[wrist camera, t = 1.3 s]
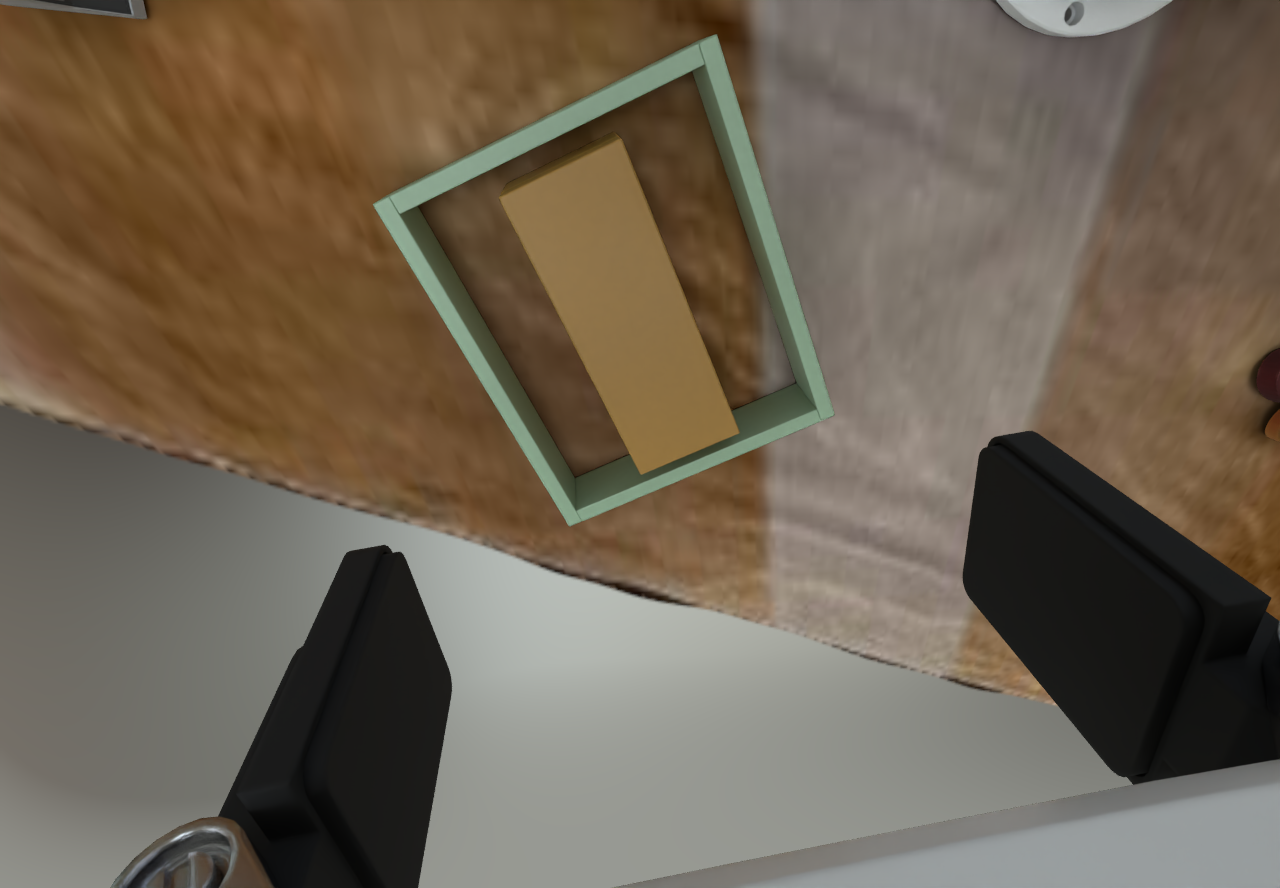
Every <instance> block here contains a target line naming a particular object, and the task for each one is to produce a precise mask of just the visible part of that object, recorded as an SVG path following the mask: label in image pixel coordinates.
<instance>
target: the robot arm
mask: <svg viewBox="0 0 1280 888" xmlns="http://www.w3.org/2000/svg"><path fill="white" fill-rule="evenodd" d="M996 1H997V2H998V4H999V5H1000V6H1001V7H1002V8H1003V10H1004V11H1005V12H1006V13H1007V14H1008V15H1010V16H1011V17H1012V18H1014V19H1015V20H1017V21H1018V22H1019V23H1021V24H1022V25H1023V26H1025V27H1027V28H1029V29H1032V30H1035V31H1037V32H1040V33H1043V34H1045V35H1050V36H1060V37H1070V38H1073V37H1082V36H1095V35H1100V34H1104V33H1108V32H1112V31H1116V30H1120V29H1123V28H1125V27H1128V26H1130V25H1132V24H1134V23H1136V22H1138V21H1141V20H1143V19H1145V18H1147V17H1149V16H1151V15H1152V14H1154V13H1155V12H1157V11H1158V10H1160V9H1161V8H1162V7H1164V6H1165V5H1167V4H1168V3H1170V2H1171V1H1173V0H996ZM963 584H964V587H965V590H966V592H967V595H968V596H969V598H970V599H971V600H972V602H973V603H974V604H975V605H976V606H977V608H978V609H979V610H980V611H981V612H982V614H983V615H984V616H985V617H986V619H987V620H988V621H989V622H990V623H991V625H992V626H993V627H994V628H995V630H996V631H997V632H998V633H999V634H1000V636H1001V637H1002V638H1003V639H1004V640H1005V642H1006V643H1007V644H1008V645H1009V647H1010V648H1011V649H1012V650H1013V651H1014V653H1015V654H1016V655H1017V656H1018V658H1019V659H1020V660H1021V661H1022V662H1023V664H1024V665H1025V666H1026V667H1027V668H1028V670H1029V671H1030V672H1031V673H1032V675H1033V676H1034V677H1035V678H1036V679H1037V681H1038V682H1039V683H1040V684H1041V686H1042V687H1043V688H1044V689H1045V690H1046V692H1047V693H1048V694H1049V695H1050V696H1051V698H1052V699H1053V700H1054V701H1055V703H1056V704H1057V705H1058V706H1059V707H1060V709H1061V710H1062V711H1063V712H1064V714H1065V715H1066V716H1067V717H1068V718H1069V720H1070V721H1071V722H1072V723H1073V724H1074V726H1075V727H1076V728H1077V729H1078V730H1079V732H1080V733H1081V734H1082V735H1083V737H1084V738H1085V739H1086V740H1087V741H1088V743H1089V744H1090V745H1091V746H1092V748H1093V749H1094V750H1095V751H1096V752H1097V754H1098V755H1099V756H1100V757H1101V759H1102V760H1103V761H1104V762H1105V763H1106V765H1107V766H1108V767H1109V768H1110V769H1111V770H1112V771H1113V772H1114V773H1116V774H1117V775H1119V776H1122V777H1127V778H1128V779H1129V780H1130V781H1131V782H1132V784H1133V785H1131V786H1125V787H1120V788H1114V789H1110V790H1104V791H1099V792H1094V793H1088V794H1083V795H1078V796H1073V797H1068V798H1063V799H1057V800H1052V801H1047V802H1042V803H1037V804H1032V805H1026V806H1021V807H1016V808H1011V809H1006V810H1000V811H995V812H990V813H985V814H980V815H974V816H969V817H964V818H959V819H954V820H948V821H943V822H939V823H934V824H929V825H923V826H918V827H913V828H908V829H903V830H898V831H893V832H888V833H883V834H877V835H873V836H868V837H863V838H857V839H852V840H847V841H842V842H837V843H832V844H827V845H822V846H817V847H812V848H807V849H802V850H797V851H792V852H787V853H782V854H777V855H772V856H767V857H762V858H757V859H752V860H747V861H742V862H737V863H731V864H727V865H722V866H717V867H712V868H707V869H702V870H697V871H692V872H687V873H683V874H677V875H673V876H668V877H663V878H658V879H653V880H648V881H643V882H638V883H633V884H628V885H624V886H619V887H614V888H1280V621H1278V620H1277V619H1276V618H1274V617H1273V616H1272V615H1270V614H1269V613H1267V612H1266V609H1267V606H1268V604H1269V602H1270V600H1271V597H1269V596H1268V595H1266V594H1265V593H1264V592H1262V591H1261V590H1259V589H1258V588H1257V587H1255V586H1254V585H1252V584H1251V583H1249V582H1248V581H1247V580H1245V579H1244V578H1242V577H1241V576H1240V575H1238V574H1237V573H1235V572H1234V571H1232V570H1231V569H1230V568H1228V567H1227V566H1225V565H1224V564H1222V563H1221V562H1220V561H1218V560H1217V559H1215V558H1214V557H1213V556H1211V555H1210V554H1208V553H1207V552H1205V551H1204V550H1203V549H1201V548H1200V547H1198V546H1197V545H1195V544H1194V543H1193V542H1191V541H1190V540H1188V539H1187V538H1186V537H1184V536H1183V535H1181V534H1180V533H1178V532H1177V531H1176V530H1174V529H1173V528H1171V527H1170V526H1168V525H1167V524H1166V523H1164V522H1163V521H1161V520H1160V519H1159V518H1157V517H1156V516H1154V515H1153V514H1151V513H1150V512H1149V511H1147V510H1146V509H1144V508H1143V507H1142V506H1140V505H1139V504H1137V503H1136V502H1134V501H1133V500H1132V499H1130V498H1129V497H1127V496H1126V495H1124V494H1123V493H1122V492H1120V491H1119V490H1117V489H1116V488H1115V487H1113V486H1112V485H1110V484H1109V483H1107V482H1106V481H1105V480H1103V479H1102V478H1100V477H1099V476H1097V475H1096V474H1095V473H1093V472H1092V471H1090V470H1089V469H1088V468H1086V467H1085V466H1083V465H1082V464H1080V463H1079V462H1078V461H1076V460H1075V459H1073V458H1072V457H1070V456H1069V455H1068V454H1066V453H1065V452H1063V451H1062V450H1061V449H1059V448H1058V447H1056V446H1055V445H1053V444H1052V443H1051V442H1049V441H1048V440H1046V439H1045V438H1043V437H1042V436H1041V435H1039V434H1038V433H1036V432H1033V431H1025V432H1019V433H1014V434H1008V435H1003V436H997V437H994V438H993V439H991V441H990V442H989V444H988V447H986V448H984V449H982V450H981V452H980V454H979V459H978V466H977V474H976V481H975V488H974V496H973V503H972V510H971V518H970V525H969V532H968V540H967V547H966V554H965V562H964V569H963ZM451 692H452V682H451V676H450V671H449V668H448V666H447V663H446V660H445V658H444V655H443V653H442V650H441V648H440V645H439V643H438V640H437V638H436V635H435V632H434V630H433V627H432V625H431V622H430V620H429V617H428V615H427V612H426V610H425V607H424V605H423V602H422V600H421V597H420V594H419V592H418V589H417V587H416V584H415V581H414V579H413V576H412V574H411V571H410V569H409V566H408V564H407V561H406V559H405V557H404V555H403V554H402V553H401V552H395V553H392V551H391V549H390V548H389V547H388V546H386V545H381V546H376V547H370V548H365V549H359V550H353V551H349V552H347V553H346V555H345V556H344V558H343V560H342V562H341V564H340V567H339V569H338V571H337V573H336V575H335V578H334V580H333V582H332V584H331V586H330V589H329V591H328V593H327V595H326V597H325V599H324V602H323V604H322V606H321V608H320V611H319V613H318V615H317V617H316V619H315V622H314V624H313V626H312V628H311V630H310V632H309V635H308V637H307V639H306V641H305V643H304V646H302V647H301V648H299V649H298V650H297V651H296V653H295V655H294V656H293V658H292V660H291V662H290V664H289V666H288V668H287V670H286V672H285V674H284V677H283V679H282V681H281V683H280V685H279V687H278V689H277V691H276V694H275V696H274V698H273V700H272V702H271V704H270V706H269V709H268V711H267V713H266V715H265V717H264V719H263V721H262V724H261V726H260V728H259V730H258V732H257V734H256V736H255V739H254V741H253V743H252V745H251V747H250V749H249V751H248V754H247V756H246V758H245V760H244V762H243V765H242V766H241V769H240V771H239V773H238V775H237V777H236V779H235V782H234V783H233V786H232V788H231V790H230V792H229V794H228V797H227V799H226V801H225V803H224V805H223V807H222V809H221V811H220V814H219V816H218V817H210V818H201V819H198V820H195V821H193V822H190V823H187V824H185V825H182V826H179V827H177V828H176V829H174V830H172V831H171V832H169V833H167V834H166V835H164V836H162V837H161V838H159V839H157V840H156V841H155V842H153V843H152V844H151V845H150V846H149V847H147V848H146V849H145V850H144V851H143V852H141V853H140V854H139V855H138V856H136V857H135V858H134V860H132V862H131V863H130V864H129V865H128V866H127V867H126V868H125V869H124V870H123V872H122V873H121V874H120V875H119V876H118V877H117V878H116V880H115V881H114V883H113V884H112V886H111V887H110V888H418V885H419V878H420V873H421V867H422V861H423V856H424V850H425V844H426V838H427V833H428V827H429V821H430V815H431V810H432V803H433V798H434V792H435V787H436V780H437V775H438V769H439V763H440V758H441V752H442V746H443V740H444V735H445V729H446V723H447V717H448V712H449V706H450V700H451Z"/></svg>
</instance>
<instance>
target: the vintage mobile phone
mask: <svg viewBox="0 0 1280 888" xmlns="http://www.w3.org/2000/svg"><path fill="white" fill-rule="evenodd" d="M0 4H3V5H9V6H19V7H28V8H38V9H48V10H58V11H68V12H77V13H87V14H97V15H107V16H117V17H126V18H136V19H147V15H146V11H145V7H144V2H143V0H0Z"/></svg>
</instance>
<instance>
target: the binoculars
mask: <svg viewBox="0 0 1280 888" xmlns="http://www.w3.org/2000/svg"><path fill="white" fill-rule="evenodd" d="M1257 388H1258V390H1259V392H1260V393H1261V394H1262V396H1263V397H1265V398H1266V399H1268V400H1271V401H1274V402H1279V403H1280V348H1279V349H1277V350H1275V351H1273V352H1272V353H1271V354H1269V355H1268V356H1267V357H1266V359H1265V360H1264V361H1263V362H1262V364H1261V366H1260V368H1259V370H1258V374H1257ZM1265 434H1266V436H1267V437H1269V438H1271V439H1273V440H1276V441H1278V442H1280V409H1279V410H1278V411H1277V412H1276V413H1275V414H1274V415H1273V416H1272V418H1271V419H1270V420H1269V422H1268V424H1267V426H1266V428H1265Z"/></svg>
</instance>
